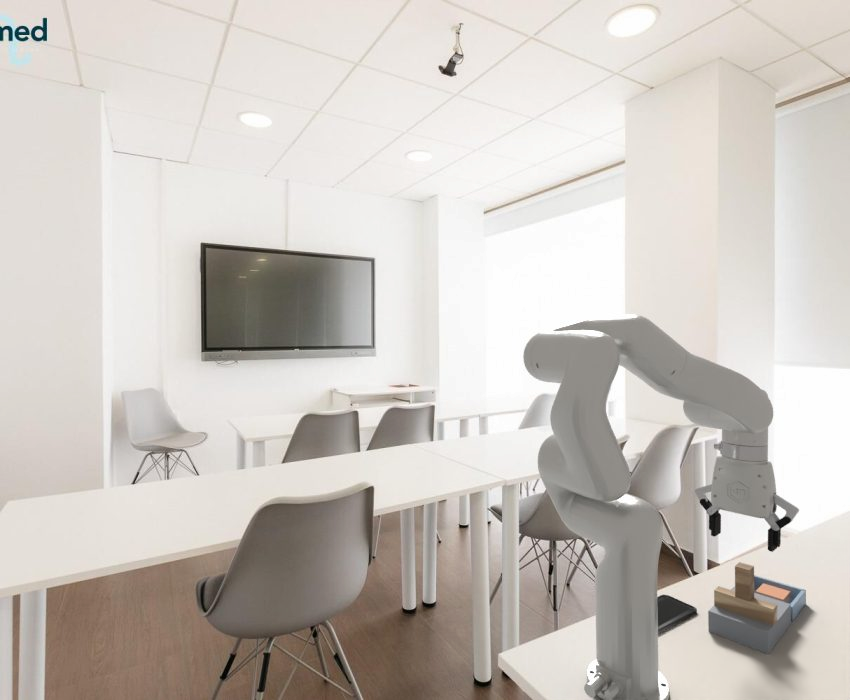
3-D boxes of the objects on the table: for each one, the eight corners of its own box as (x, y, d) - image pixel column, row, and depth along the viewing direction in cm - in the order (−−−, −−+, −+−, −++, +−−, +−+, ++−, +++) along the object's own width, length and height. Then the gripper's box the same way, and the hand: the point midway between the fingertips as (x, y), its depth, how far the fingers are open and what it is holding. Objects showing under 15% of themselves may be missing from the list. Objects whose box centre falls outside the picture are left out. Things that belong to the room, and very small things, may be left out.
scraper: (773, 625, 94) (773, 576, 94) (714, 605, 102) (713, 560, 101) (777, 620, 96) (777, 572, 96) (718, 600, 103) (718, 556, 103)
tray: (792, 622, 102) (792, 607, 102) (736, 603, 110) (736, 589, 110) (805, 604, 109) (805, 590, 109) (752, 587, 116) (751, 574, 116)
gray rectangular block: (768, 654, 92) (768, 632, 92) (708, 631, 100) (708, 610, 100) (790, 624, 101) (790, 604, 101) (734, 605, 109) (734, 586, 109)
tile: (790, 591, 109) (790, 600, 109) (763, 583, 113) (763, 592, 113) (783, 599, 106) (783, 609, 106) (755, 591, 110) (755, 600, 110)
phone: (699, 609, 107) (654, 632, 99) (699, 614, 107) (654, 638, 99) (664, 593, 113) (619, 614, 105) (664, 598, 113) (619, 619, 105)
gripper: (688, 448, 103) (687, 533, 103) (792, 463, 89) (791, 561, 90) (703, 443, 107) (702, 525, 108) (804, 457, 94) (803, 550, 95)
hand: (743, 541), depth 99 cm, fingers open, 9 cm apart
